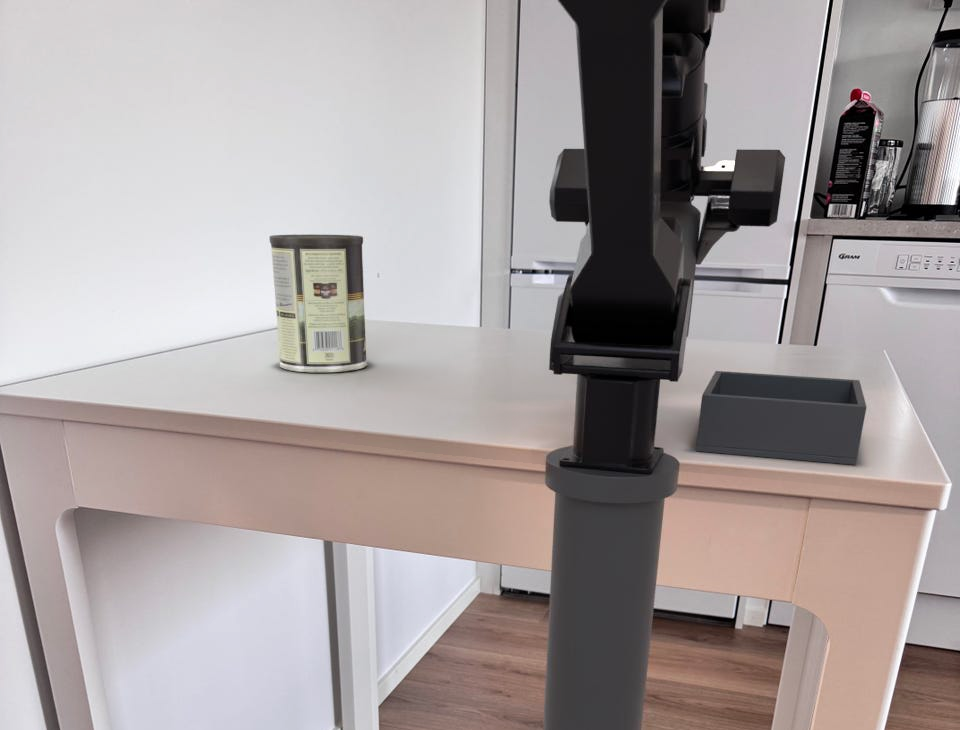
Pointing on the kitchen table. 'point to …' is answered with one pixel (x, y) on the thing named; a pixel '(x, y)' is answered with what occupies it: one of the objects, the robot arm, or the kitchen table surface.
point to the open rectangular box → (782, 417)
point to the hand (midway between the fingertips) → (665, 259)
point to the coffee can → (319, 302)
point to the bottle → (686, 235)
